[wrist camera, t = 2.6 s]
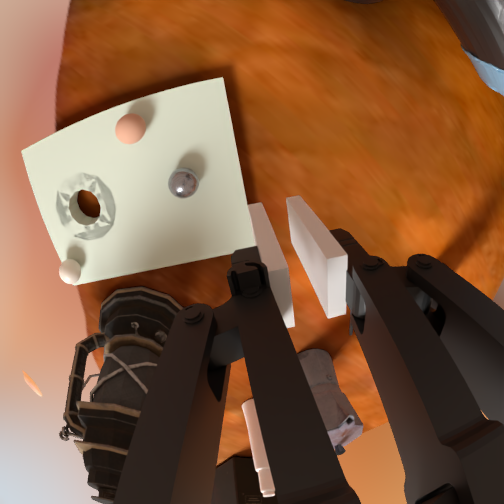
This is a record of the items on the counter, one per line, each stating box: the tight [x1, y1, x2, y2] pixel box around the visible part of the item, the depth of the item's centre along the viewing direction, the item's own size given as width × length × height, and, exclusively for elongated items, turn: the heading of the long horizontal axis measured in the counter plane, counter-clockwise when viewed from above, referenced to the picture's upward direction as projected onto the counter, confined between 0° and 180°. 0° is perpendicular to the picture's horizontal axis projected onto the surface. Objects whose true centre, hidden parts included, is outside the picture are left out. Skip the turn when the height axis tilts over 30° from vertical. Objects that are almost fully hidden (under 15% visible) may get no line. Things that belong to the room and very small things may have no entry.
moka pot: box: [297, 349, 363, 455], centre depth 41 cm, size 10×15×20 cm, turn 176°
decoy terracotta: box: [115, 113, 146, 144], centre depth 25 cm, size 3×3×3 cm
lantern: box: [59, 286, 183, 504], centre depth 29 cm, size 20×16×30 cm
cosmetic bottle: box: [242, 399, 275, 497], centre depth 46 cm, size 6×6×22 cm
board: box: [21, 77, 255, 285], centre depth 30 cm, size 20×26×2 cm
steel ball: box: [168, 168, 199, 198], centre depth 28 cm, size 3×3×3 cm
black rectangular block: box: [211, 457, 279, 504], centre depth 69 cm, size 38×20×25 cm, turn 152°
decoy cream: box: [59, 259, 81, 284], centre depth 31 cm, size 3×3×3 cm
